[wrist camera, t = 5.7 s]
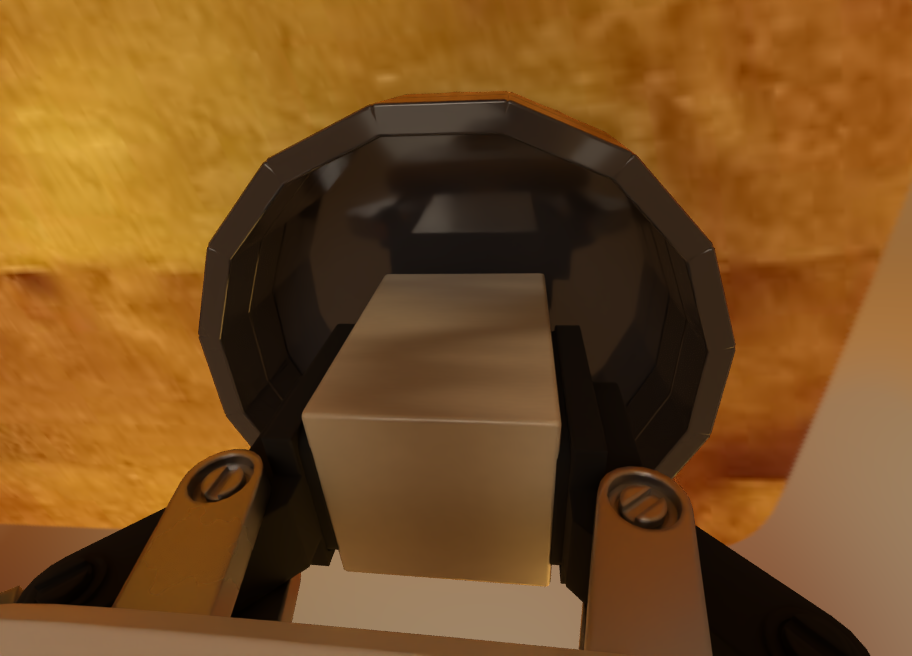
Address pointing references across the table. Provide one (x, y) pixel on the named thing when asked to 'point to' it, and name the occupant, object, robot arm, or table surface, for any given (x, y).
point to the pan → (471, 253)
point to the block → (443, 430)
